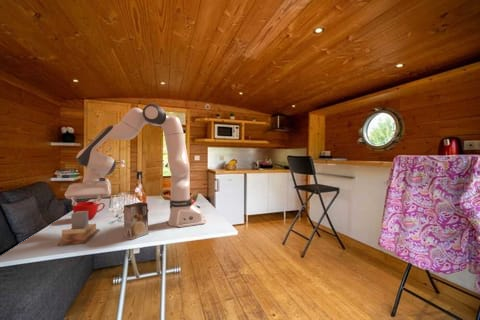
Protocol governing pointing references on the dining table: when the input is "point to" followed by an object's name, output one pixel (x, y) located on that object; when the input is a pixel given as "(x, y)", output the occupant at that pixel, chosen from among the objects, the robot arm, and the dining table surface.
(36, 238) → the dining table surface
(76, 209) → the red cup
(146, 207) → the coffee box
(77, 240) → the display stand
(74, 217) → the grey block
